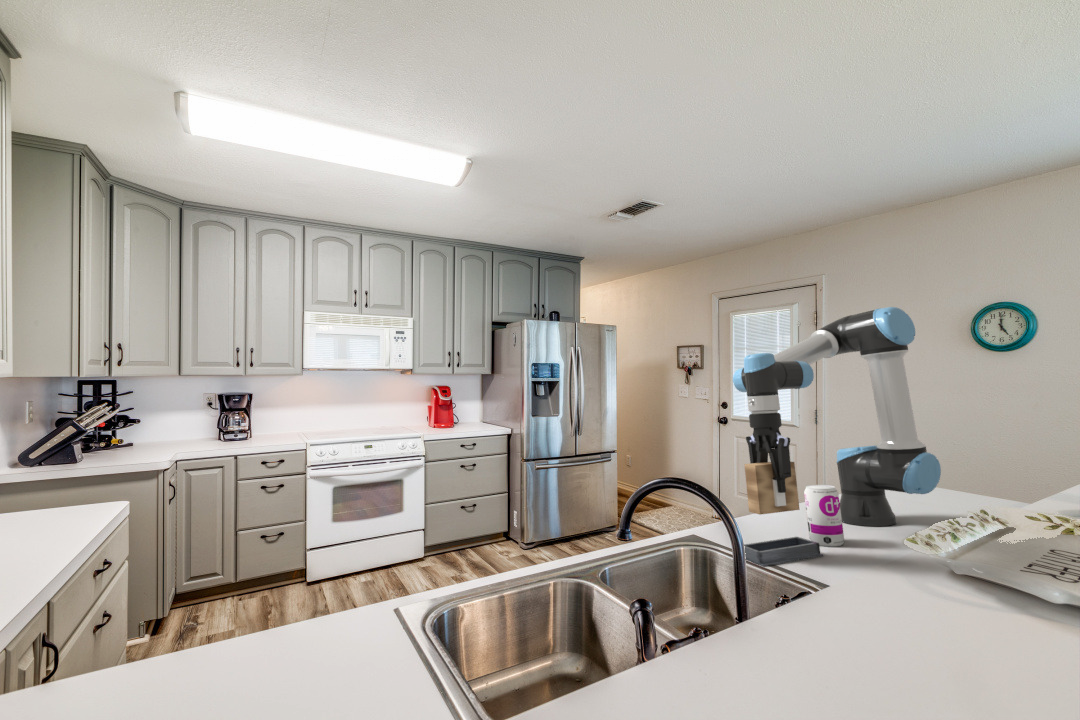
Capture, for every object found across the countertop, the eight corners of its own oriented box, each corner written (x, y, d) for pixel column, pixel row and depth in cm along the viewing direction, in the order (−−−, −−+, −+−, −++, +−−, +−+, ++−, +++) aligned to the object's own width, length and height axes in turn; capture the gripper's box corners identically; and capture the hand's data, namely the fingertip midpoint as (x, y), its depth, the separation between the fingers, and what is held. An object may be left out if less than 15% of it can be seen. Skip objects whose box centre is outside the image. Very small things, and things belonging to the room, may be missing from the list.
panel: (787, 507, 124) (782, 460, 126) (799, 509, 121) (794, 461, 122) (749, 511, 121) (744, 464, 123) (760, 514, 117) (755, 465, 119)
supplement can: (851, 546, 124) (844, 488, 126) (820, 548, 125) (813, 489, 126) (833, 538, 133) (826, 483, 134) (803, 539, 133) (797, 485, 134)
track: (795, 547, 126) (794, 535, 127) (823, 556, 118) (822, 543, 118) (738, 556, 122) (737, 544, 122) (763, 566, 113) (761, 553, 113)
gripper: (730, 413, 131) (739, 500, 128) (776, 412, 115) (787, 511, 112) (753, 412, 133) (762, 497, 130) (801, 411, 117) (812, 508, 114)
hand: (773, 503), depth 121 cm, fingers closed on panel, 4 cm apart
